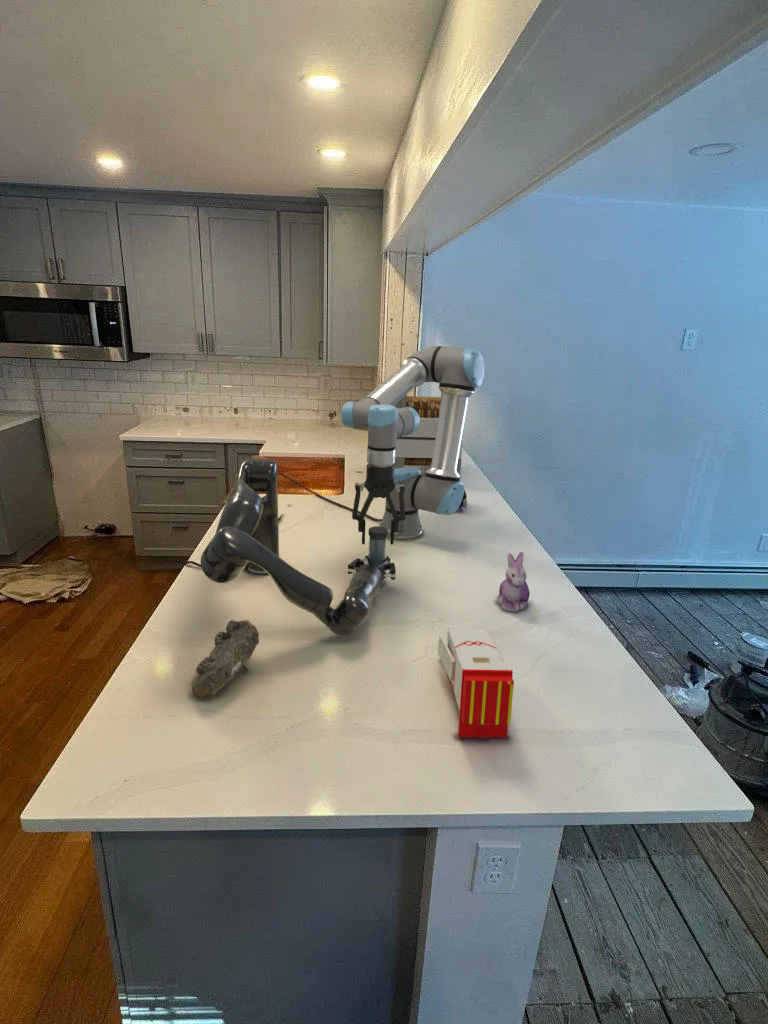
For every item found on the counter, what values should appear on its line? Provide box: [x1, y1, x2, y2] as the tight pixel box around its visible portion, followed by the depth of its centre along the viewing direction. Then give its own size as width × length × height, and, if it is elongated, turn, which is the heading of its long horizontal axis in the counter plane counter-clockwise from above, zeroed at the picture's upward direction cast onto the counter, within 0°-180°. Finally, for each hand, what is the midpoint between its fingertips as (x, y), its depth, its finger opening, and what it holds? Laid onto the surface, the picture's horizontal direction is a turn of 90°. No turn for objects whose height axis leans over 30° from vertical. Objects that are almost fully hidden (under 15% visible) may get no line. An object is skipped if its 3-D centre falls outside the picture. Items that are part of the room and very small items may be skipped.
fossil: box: [191, 619, 260, 698], centre depth 121 cm, size 22×10×15 cm
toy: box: [437, 628, 515, 738], centre depth 117 cm, size 12×13×30 cm
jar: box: [368, 536, 387, 587], centre depth 161 cm, size 5×5×16 cm
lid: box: [368, 525, 388, 538], centre depth 158 cm, size 5×5×2 cm
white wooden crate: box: [393, 391, 465, 482], centre depth 268 cm, size 34×33×41 cm
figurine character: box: [457, 489, 468, 512], centre depth 228 cm, size 7×8×15 cm
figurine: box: [497, 551, 530, 612], centre depth 152 cm, size 9×10×15 cm
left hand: (378, 558), depth 164 cm, fingers closed on jar, 4 cm apart
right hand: (377, 542), depth 159 cm, fingers open, 7 cm apart
